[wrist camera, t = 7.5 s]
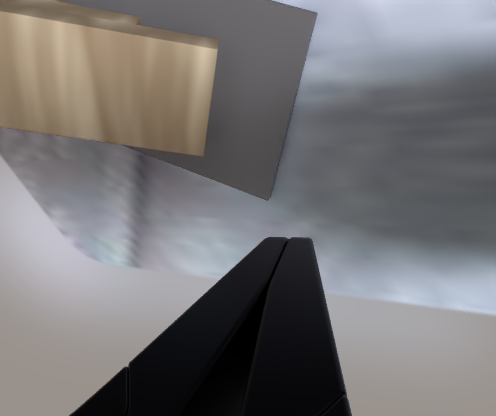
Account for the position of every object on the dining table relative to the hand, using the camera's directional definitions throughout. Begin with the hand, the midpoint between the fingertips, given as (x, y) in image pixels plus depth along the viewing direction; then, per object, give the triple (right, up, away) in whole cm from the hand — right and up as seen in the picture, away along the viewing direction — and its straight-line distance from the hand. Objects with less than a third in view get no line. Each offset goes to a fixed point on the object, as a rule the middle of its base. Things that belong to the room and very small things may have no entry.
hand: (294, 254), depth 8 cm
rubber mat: (-7, +8, +14) cm, 17 cm away
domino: (-3, +6, +12) cm, 13 cm away
